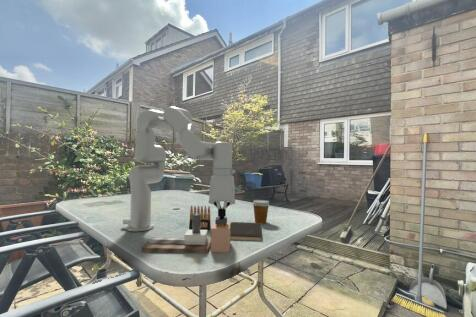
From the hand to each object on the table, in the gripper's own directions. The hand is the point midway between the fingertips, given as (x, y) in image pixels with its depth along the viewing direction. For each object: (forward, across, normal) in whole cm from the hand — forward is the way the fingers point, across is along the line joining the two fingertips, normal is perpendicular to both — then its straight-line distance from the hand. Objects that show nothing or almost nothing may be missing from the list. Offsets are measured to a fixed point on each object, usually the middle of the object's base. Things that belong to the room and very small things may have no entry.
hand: (221, 218), depth 95 cm
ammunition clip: (+12, +13, -24) cm, 30 cm away
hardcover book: (+12, -10, -21) cm, 26 cm away
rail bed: (+12, +17, 0) cm, 21 cm away
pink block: (+12, 0, 0) cm, 12 cm away
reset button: (+5, 0, 0) cm, 5 cm away
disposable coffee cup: (+12, -19, -40) cm, 46 cm away
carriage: (+10, +10, 0) cm, 14 cm away
